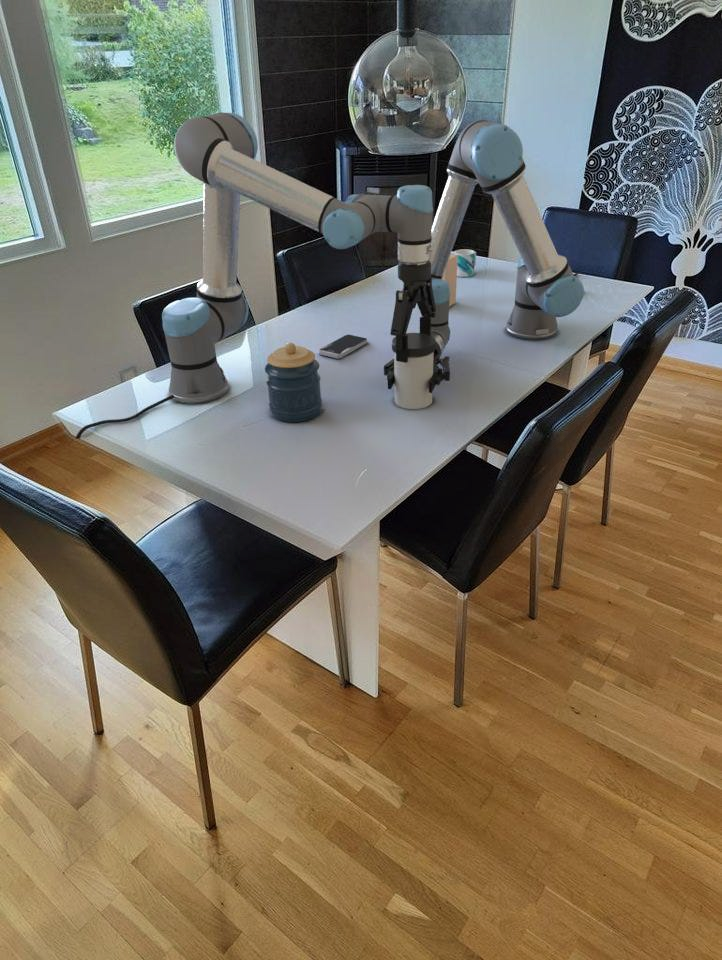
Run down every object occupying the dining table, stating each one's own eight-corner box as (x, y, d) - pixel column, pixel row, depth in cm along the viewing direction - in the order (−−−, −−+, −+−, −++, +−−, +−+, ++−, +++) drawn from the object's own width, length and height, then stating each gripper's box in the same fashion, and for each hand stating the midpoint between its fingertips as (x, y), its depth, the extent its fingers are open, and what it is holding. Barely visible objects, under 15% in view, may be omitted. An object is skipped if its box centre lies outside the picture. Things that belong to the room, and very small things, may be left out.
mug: (449, 275, 259) (450, 253, 254) (462, 267, 267) (463, 245, 262) (469, 277, 255) (470, 255, 250) (481, 269, 263) (483, 247, 259)
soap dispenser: (444, 310, 225) (446, 242, 213) (422, 306, 229) (423, 239, 217) (461, 299, 234) (464, 233, 222) (439, 295, 238) (440, 231, 226)
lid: (401, 338, 167) (401, 330, 166) (441, 343, 164) (441, 335, 162) (385, 353, 159) (385, 345, 158) (427, 359, 156) (427, 351, 154)
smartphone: (368, 338, 202) (338, 355, 192) (368, 342, 203) (339, 359, 192) (347, 334, 206) (317, 350, 195) (347, 338, 206) (317, 354, 196)
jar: (440, 401, 168) (442, 343, 160) (411, 412, 163) (412, 353, 155) (414, 389, 175) (415, 333, 166) (386, 400, 170) (386, 342, 161)
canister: (275, 426, 159) (266, 357, 150) (266, 403, 170) (257, 337, 160) (328, 418, 162) (323, 349, 153) (316, 396, 173) (310, 330, 163)
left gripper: (404, 277, 140) (404, 373, 152) (451, 249, 157) (448, 338, 169) (373, 273, 143) (375, 367, 155) (422, 246, 160) (421, 333, 172)
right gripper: (468, 367, 179) (454, 404, 161) (387, 360, 185) (366, 395, 167) (469, 340, 175) (456, 375, 157) (387, 334, 181) (365, 367, 163)
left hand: (413, 352), depth 162 cm, fingers open, 12 cm apart
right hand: (409, 385), depth 162 cm, fingers closed on jar, 9 cm apart
